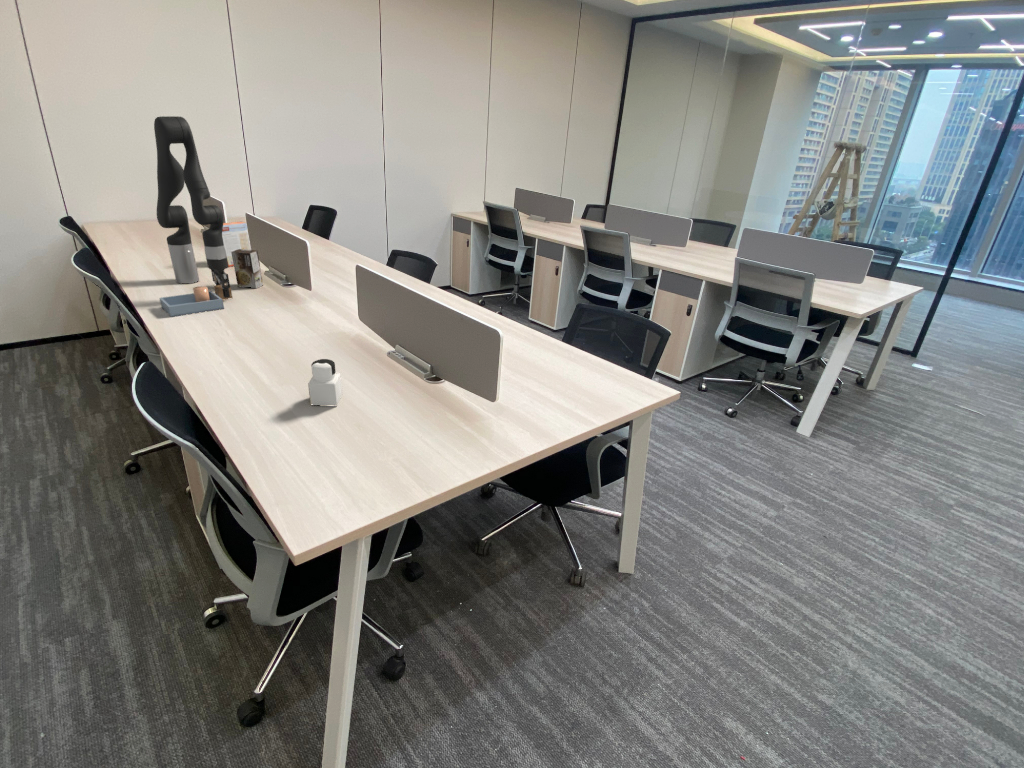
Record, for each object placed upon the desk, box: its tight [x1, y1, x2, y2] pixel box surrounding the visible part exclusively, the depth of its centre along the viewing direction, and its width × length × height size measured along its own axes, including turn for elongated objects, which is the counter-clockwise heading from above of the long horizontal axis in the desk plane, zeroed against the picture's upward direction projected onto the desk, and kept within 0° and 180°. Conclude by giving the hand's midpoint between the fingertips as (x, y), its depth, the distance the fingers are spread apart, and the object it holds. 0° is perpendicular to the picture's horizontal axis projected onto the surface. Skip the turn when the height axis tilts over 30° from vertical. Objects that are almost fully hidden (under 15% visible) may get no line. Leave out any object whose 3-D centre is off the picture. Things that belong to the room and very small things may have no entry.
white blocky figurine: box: [307, 358, 343, 406], centre depth 141 cm, size 7×7×12 cm
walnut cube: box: [213, 284, 233, 300], centre depth 216 cm, size 5×5×5 cm
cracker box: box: [222, 221, 252, 268], centre depth 263 cm, size 14×6×21 cm, turn 144°
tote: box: [159, 290, 225, 318], centre depth 202 cm, size 14×19×4 cm
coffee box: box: [231, 249, 264, 289], centre depth 231 cm, size 9×6×16 cm
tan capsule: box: [192, 285, 210, 302], centre depth 204 cm, size 5×5×7 cm
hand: (223, 295), depth 217 cm, fingers open, 8 cm apart
